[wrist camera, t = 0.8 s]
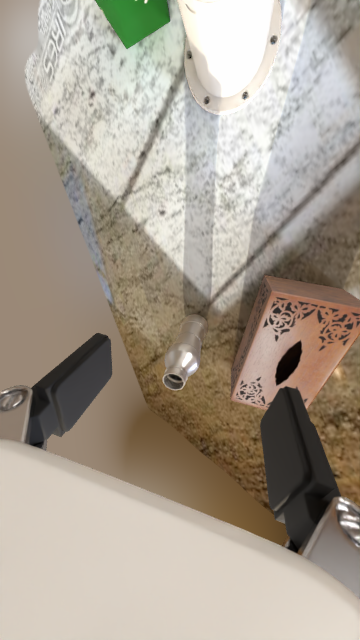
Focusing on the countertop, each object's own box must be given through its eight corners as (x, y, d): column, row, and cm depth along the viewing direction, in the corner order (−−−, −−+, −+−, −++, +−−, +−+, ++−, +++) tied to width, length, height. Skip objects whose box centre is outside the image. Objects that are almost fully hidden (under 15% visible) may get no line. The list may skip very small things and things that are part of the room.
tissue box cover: (264, 274, 39) (272, 290, 30) (343, 289, 36) (376, 310, 28) (231, 369, 51) (230, 399, 43) (288, 384, 49) (299, 420, 40)
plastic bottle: (177, 318, 48) (145, 373, 31) (200, 306, 45) (179, 360, 28) (191, 338, 50) (168, 400, 33) (214, 328, 47) (202, 391, 30)
